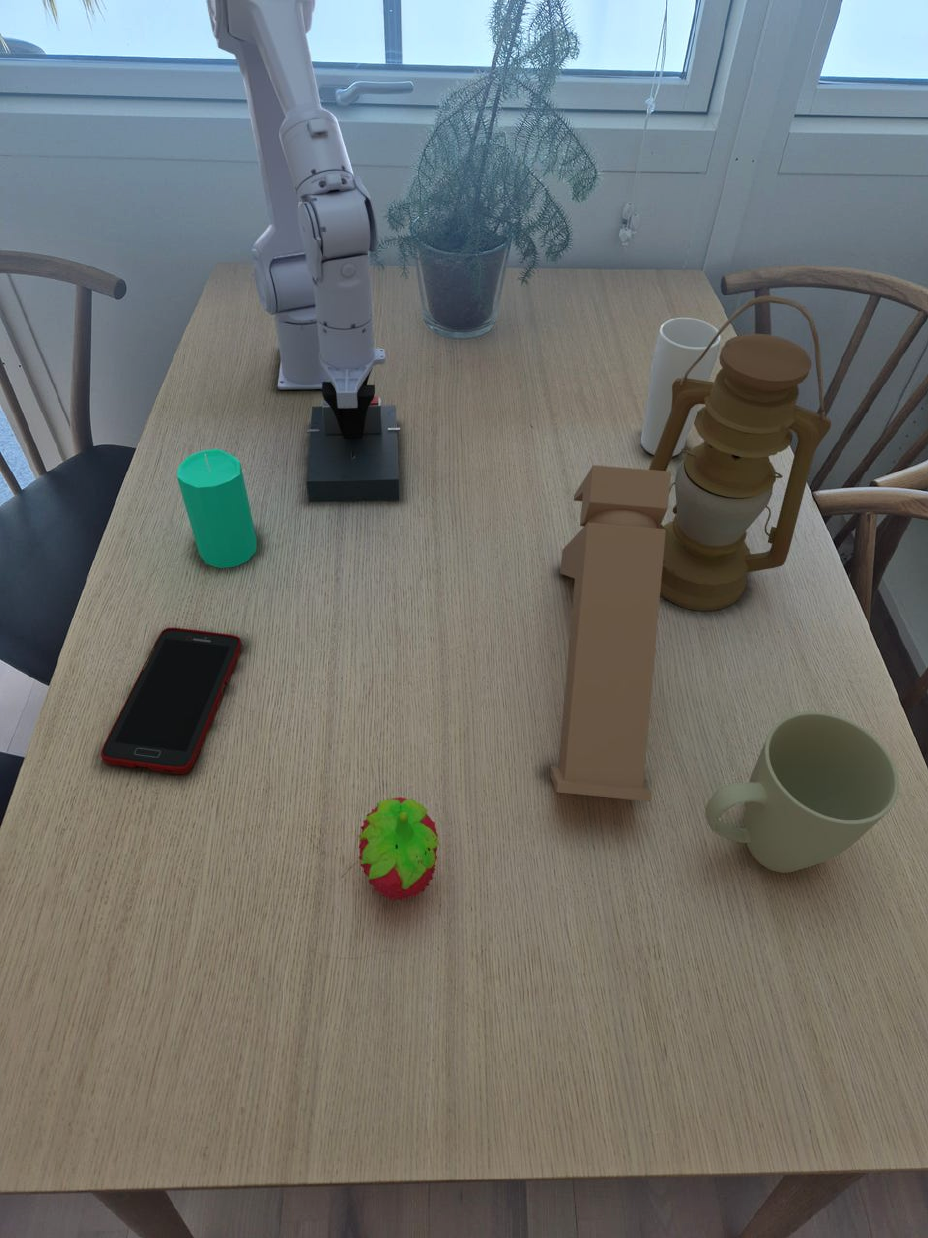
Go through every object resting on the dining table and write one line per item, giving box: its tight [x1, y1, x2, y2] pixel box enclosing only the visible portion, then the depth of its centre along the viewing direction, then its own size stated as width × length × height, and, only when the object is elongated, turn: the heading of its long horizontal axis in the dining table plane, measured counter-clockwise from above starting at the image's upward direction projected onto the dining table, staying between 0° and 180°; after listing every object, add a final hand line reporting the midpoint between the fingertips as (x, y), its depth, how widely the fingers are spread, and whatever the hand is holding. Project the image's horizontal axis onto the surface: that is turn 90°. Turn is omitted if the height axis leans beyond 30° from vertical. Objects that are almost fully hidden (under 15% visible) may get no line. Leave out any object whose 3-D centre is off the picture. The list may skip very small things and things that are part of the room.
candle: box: [176, 448, 258, 569], centre depth 82 cm, size 6×6×12 cm
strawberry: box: [358, 796, 440, 902], centre depth 59 cm, size 6×7×10 cm
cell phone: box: [100, 627, 243, 775], centre depth 73 cm, size 8×15×1 cm, turn 172°
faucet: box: [549, 465, 672, 802], centre depth 74 cm, size 7×23×25 cm
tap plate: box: [305, 404, 401, 503], centre depth 95 cm, size 14×11×3 cm
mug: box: [704, 710, 900, 874], centre depth 61 cm, size 11×10×12 cm
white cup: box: [640, 317, 722, 457], centre depth 95 cm, size 7×7×15 cm
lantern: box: [648, 295, 832, 612], centre depth 75 cm, size 15×10×30 cm
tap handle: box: [321, 396, 382, 435], centre depth 94 cm, size 6×2×4 cm, turn 94°
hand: (353, 426), depth 95 cm, fingers open, 4 cm apart
